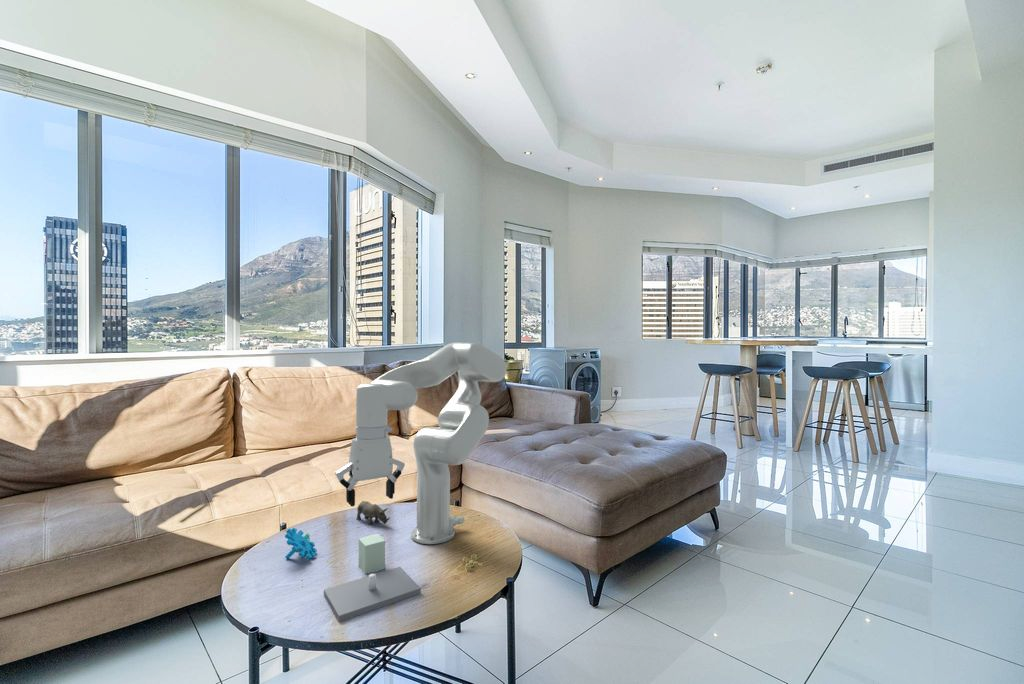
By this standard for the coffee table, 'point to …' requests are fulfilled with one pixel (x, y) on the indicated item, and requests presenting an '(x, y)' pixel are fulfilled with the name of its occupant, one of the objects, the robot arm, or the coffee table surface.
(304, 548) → the gear
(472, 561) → the dice set
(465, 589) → the coffee table surface
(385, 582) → the pin plate
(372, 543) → the block
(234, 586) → the coffee table surface
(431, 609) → the coffee table surface
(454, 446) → the robot arm
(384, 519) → the rhino figurine
